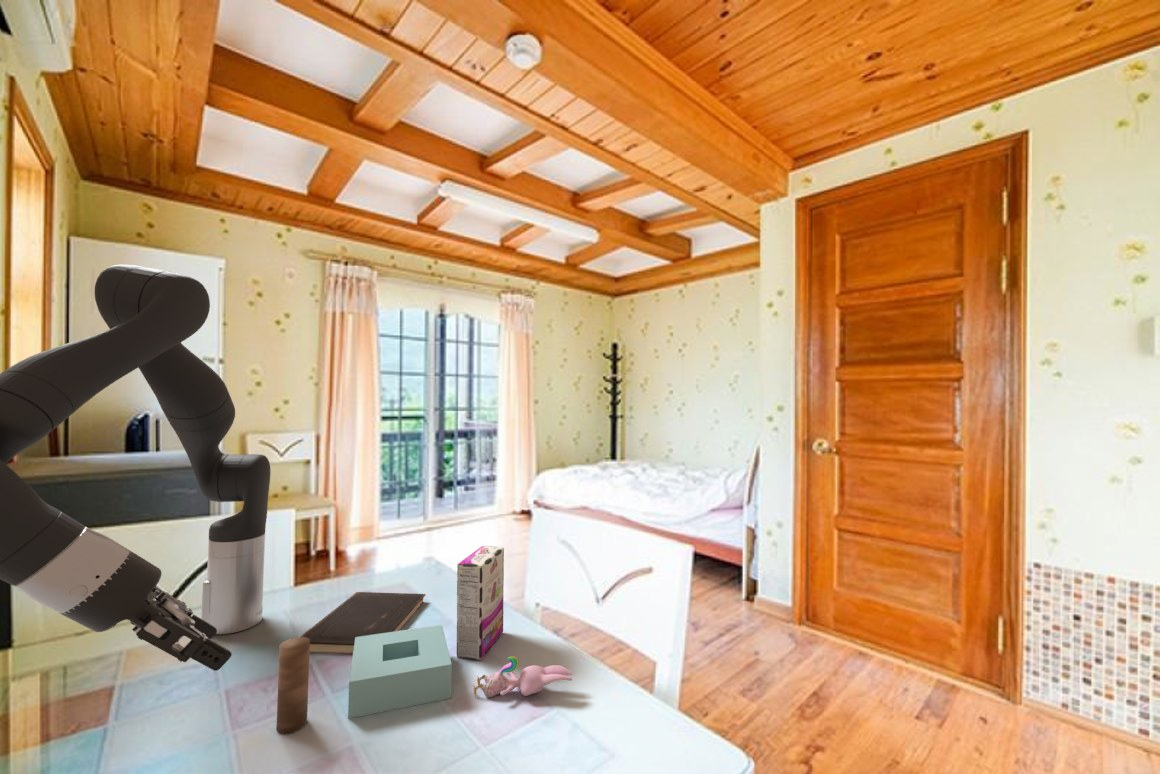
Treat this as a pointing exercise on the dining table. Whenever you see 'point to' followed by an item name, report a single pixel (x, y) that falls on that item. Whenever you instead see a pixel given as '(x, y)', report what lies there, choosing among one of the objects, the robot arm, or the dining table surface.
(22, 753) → the dining table surface
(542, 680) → the rabbit figure
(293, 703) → the brown round-topped dowel
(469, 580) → the candy bar box
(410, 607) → the hardcover book
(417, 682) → the square hole block
